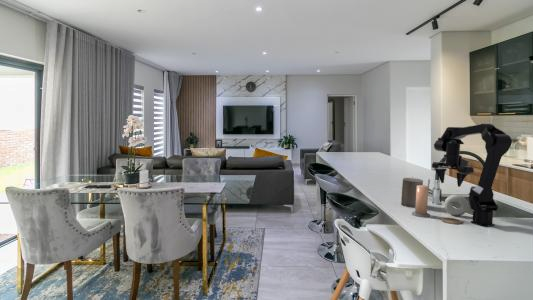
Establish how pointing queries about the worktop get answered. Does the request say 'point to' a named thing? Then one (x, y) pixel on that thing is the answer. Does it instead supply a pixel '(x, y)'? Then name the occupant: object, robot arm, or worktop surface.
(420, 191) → the post
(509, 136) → the robot arm
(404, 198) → the pillar candle
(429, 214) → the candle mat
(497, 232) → the worktop surface
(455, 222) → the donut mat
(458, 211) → the donut
